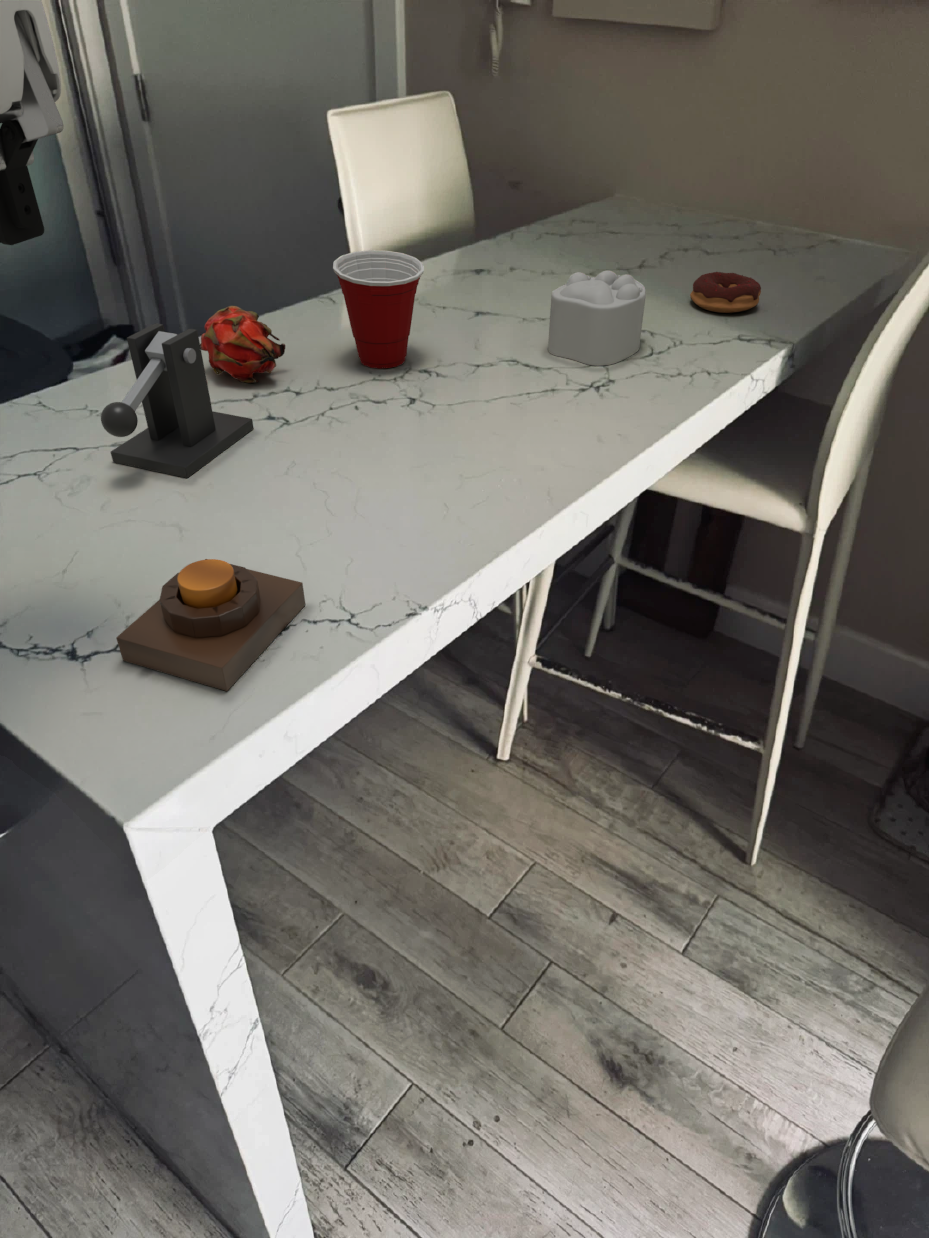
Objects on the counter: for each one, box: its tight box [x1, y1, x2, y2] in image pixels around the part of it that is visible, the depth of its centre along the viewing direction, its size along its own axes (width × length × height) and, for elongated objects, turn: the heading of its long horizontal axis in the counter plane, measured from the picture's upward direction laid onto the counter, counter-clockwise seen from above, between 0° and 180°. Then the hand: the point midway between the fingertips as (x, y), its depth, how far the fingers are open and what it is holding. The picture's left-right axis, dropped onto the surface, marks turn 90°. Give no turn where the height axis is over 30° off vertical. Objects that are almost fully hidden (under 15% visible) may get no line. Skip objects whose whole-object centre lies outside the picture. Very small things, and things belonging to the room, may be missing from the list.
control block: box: [115, 558, 306, 692], centre depth 65 cm, size 11×9×4 cm
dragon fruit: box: [200, 305, 286, 384], centre depth 104 cm, size 8×8×12 cm
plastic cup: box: [332, 249, 425, 370], centre depth 106 cm, size 11×11×12 cm
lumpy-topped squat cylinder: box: [547, 269, 647, 367], centre depth 112 cm, size 10×13×9 cm
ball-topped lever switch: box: [100, 331, 178, 438], centre depth 83 cm, size 12×3×3 cm, turn 159°
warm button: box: [177, 558, 237, 609], centre depth 64 cm, size 4×4×2 cm
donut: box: [689, 271, 762, 314], centre depth 126 cm, size 10×10×4 cm
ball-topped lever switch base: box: [110, 322, 255, 479], centre depth 88 cm, size 12×9×12 cm
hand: (17, 238), depth 54 cm, fingers closed
